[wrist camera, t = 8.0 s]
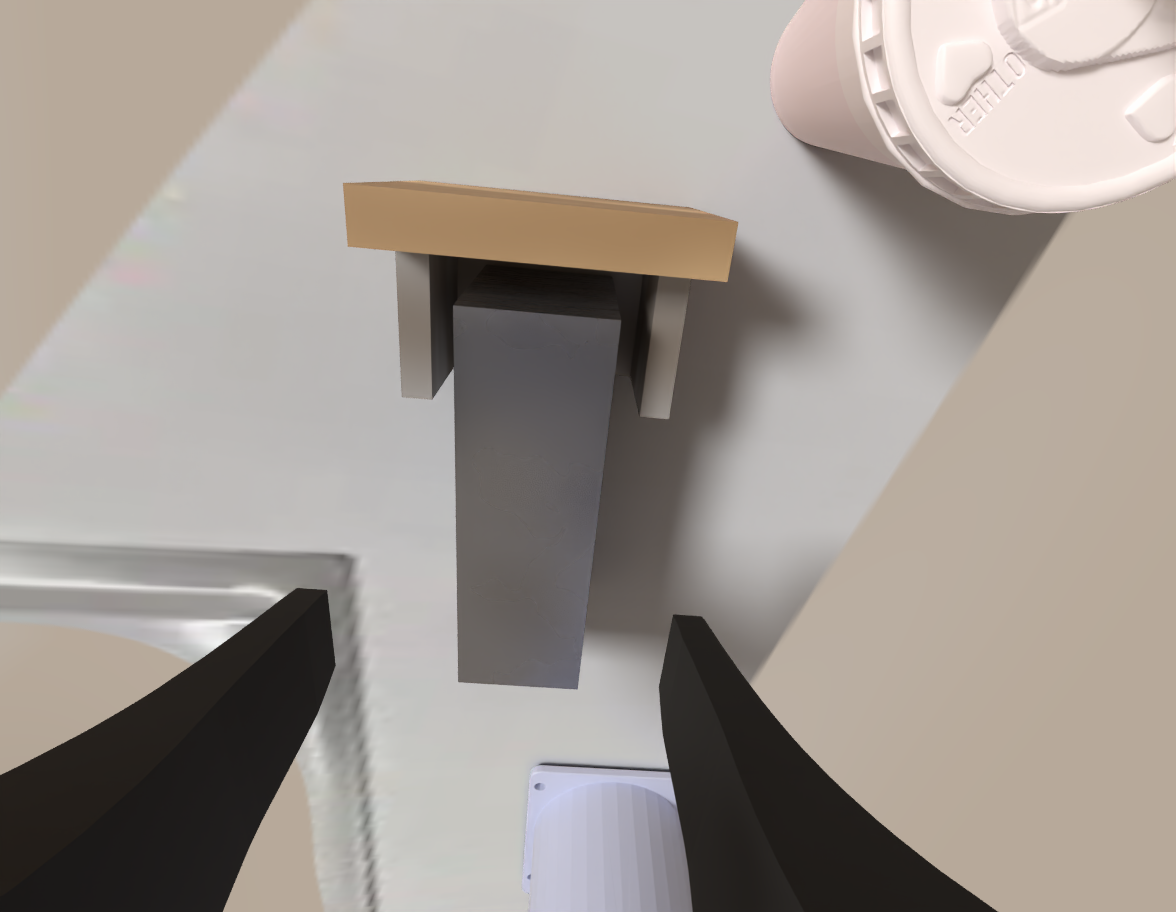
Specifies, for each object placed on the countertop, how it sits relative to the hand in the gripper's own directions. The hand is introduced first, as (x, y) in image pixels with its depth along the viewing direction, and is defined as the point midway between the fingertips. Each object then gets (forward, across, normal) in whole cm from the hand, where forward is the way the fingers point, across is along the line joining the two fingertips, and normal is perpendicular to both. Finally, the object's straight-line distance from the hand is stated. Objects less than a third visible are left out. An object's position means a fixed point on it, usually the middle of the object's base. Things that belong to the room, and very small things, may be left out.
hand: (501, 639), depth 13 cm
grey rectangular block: (+9, 0, 0) cm, 9 cm away
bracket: (+9, 0, -5) cm, 11 cm away
